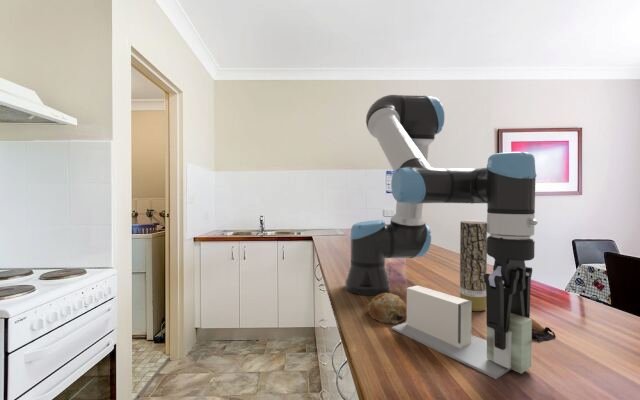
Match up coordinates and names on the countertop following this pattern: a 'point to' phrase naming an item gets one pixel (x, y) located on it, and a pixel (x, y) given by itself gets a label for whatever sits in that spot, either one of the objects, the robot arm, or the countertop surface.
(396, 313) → the bread roll
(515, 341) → the pale green block
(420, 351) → the countertop surface
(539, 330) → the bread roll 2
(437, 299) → the block
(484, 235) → the paper tube
